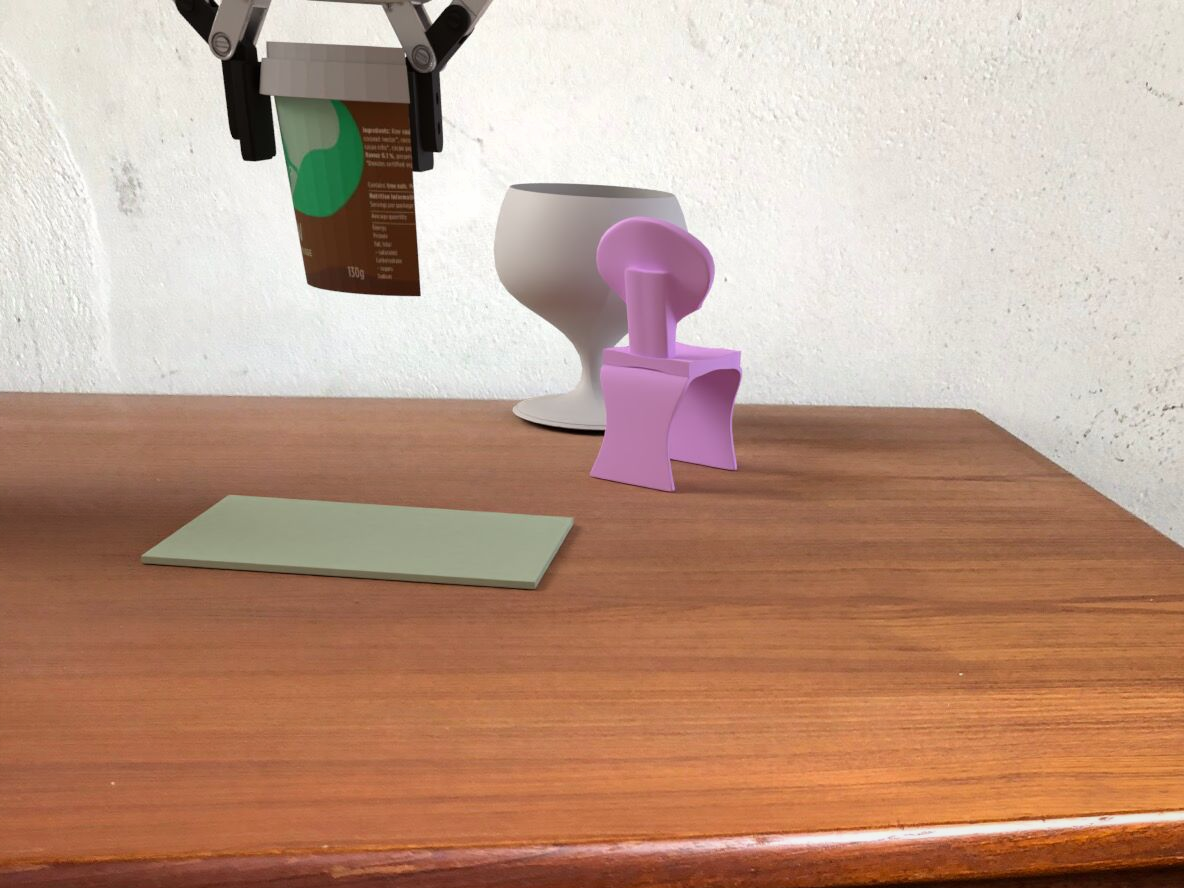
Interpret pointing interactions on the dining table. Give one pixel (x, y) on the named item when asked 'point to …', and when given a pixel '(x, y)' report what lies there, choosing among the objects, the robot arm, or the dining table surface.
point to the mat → (367, 542)
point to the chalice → (570, 278)
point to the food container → (348, 163)
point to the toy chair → (662, 360)
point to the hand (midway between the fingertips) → (339, 161)
